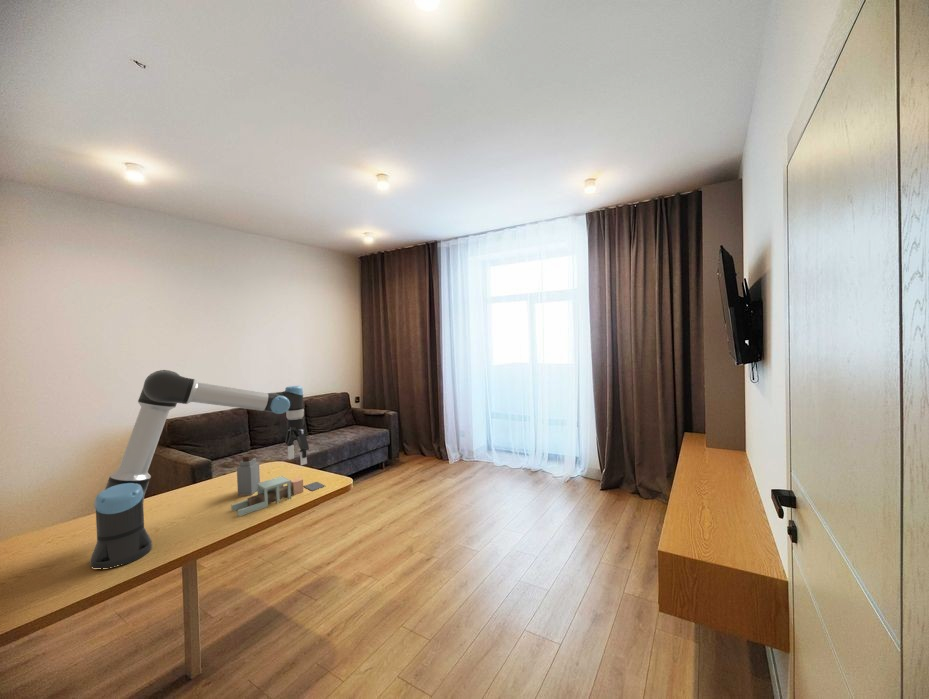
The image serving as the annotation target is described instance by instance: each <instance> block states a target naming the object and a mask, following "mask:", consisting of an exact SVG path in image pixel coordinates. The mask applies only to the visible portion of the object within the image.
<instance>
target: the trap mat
mask: <svg viewBox="0 0 929 699" xmlns="http://www.w3.org/2000/svg"><path fill="white" fill-rule="evenodd" d="M324 486H325V487H326V485H325V484H323V483H321V482H318V481H315V482H312V483H309V484H305V485H303V488H306V489H307V490H309V491H311V492H314V491H316V490H319V488H320V489H322V488H325V487H324Z"/></svg>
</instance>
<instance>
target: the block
mask: <svg viewBox="0 0 929 699" xmlns="http://www.w3.org/2000/svg"><path fill="white" fill-rule="evenodd" d="M289 480H290V479H289ZM290 485H291V486H292V487H293V496H295V495H298V494H301V493H304V487H303V486H304V479H303V478H300V477H297V478H292V479H291V480H290Z"/></svg>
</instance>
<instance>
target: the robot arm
mask: <svg viewBox="0 0 929 699" xmlns="http://www.w3.org/2000/svg"><path fill="white" fill-rule="evenodd" d="M137 403H138V404H139V406H140V409H139V411H138V415H137V418H136V420H135V423H134V425H133V428H132V431H131V434H130V436H129V438H128V442H127V444H126V447H125V450H124V452H123V455H122V458H121V461H120V464H119V466H118V468H117V471H116V470H115V472H113V473H111V474H110V475H109V477H108V481H107V483H106V486H105V488H104V489H103V490H102V491H100V492H99V493H98V494H97V495H96V496H95V501H94V505H93V506H94V509H95V525H96V543H95V546H94V549H93V553H92V554H91V557H90V560H89V561H90V568H91V567H93V568H101V569H103V568H110V567H114V566H117V565H121V564H125V565H127V564H126V563H128V564H130V563H133V562H135V561H136V560H139V559H141V558H143V557H144V556H146V555H147V554H149V552H150V551H151V550H152V548H153V544H152V538H151V537H150V535H149V533H148V531H147V530H146V528H145V514H144V511H145V510H144V503H145V502H144V501H145V496H146V495H145V494H146V492H147V489H148V486H149V483H150V480H151V478H152V475H151V474H150V473H149V469H150V466H151V463H152V461H153V457H154V456H155V451H156V449H157V446H158V445H159V441H160V437H161V435H162V433H163V429H164V427H165V424H166V420H167V419H168V418H167V417H168V416H169V413H170V411H171V410H172V409H175V408H176V406H177V405H178V404H183V405H188V404H191V403H196V404H197V403H199V404H207V405H215V406H220V407H221V406H222V407H228V408H229V407H231V408H237V409H246V410H253V411H261V412H262V411H264V412H269V413H274V414H277V415H280V414H285V413H286V418H287V420H286V426H287V428H286V429H287V431H286V436H285V440H284V441H285V442H284V444H285V445H286V447H287V460H293V459H295V446H294V445H295V443H294V442H295V440H296V441H297V443H298V447H299V448H300V450H299V458H300V466H304V465H307V464H308V459H307V458H308V456H307V455H308V454H307V451H308V450H310V447H309V443H308V439H307V435H306V429H303V428H302V427H303V426H304V425H305V416H304V415H305V414H304V413H305V409H304V391H303V387H302V386H301V385H290V386H286V387H285V390H283V391H277V392H268V393H267V392H262V391H261V392H260V391H254V390H247V389H241V388H236V387H231V386H230V387H228V386H223V385H215V384H210V383H204V382H198V381H197V380H196V379H195V378H188V377H185V376H182V375H180V374H179V373H177V372H175V371H172V370H167V369H160V370H157V371H154V372H152V373H150V374H149V375H148V376H147V377H146V378H145V380H144V383H143V386H142V390H141V392H140V394H139V397H138V400H137ZM132 561H133V562H132ZM129 562H130V563H129Z"/></svg>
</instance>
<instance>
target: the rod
mask: <svg viewBox="0 0 929 699" xmlns="http://www.w3.org/2000/svg"><path fill="white" fill-rule="evenodd" d="M267 494H268V504H269V503H272V502H275V501H276V489H274V490H271V491H268V492H267ZM279 495H280V500H282V499H284V498H288V489H287V485H283V487H281V488H279ZM292 495H293V487H292V486H291V496H292ZM293 496H294V495H293ZM246 500H248V506H251V505H254V504H257V503H260V502H263V501H264V493H262V494H259V495H258V494H256V495H253V496H252V495H251V496H249V497H247V498H246ZM248 506H247V507H248Z"/></svg>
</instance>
